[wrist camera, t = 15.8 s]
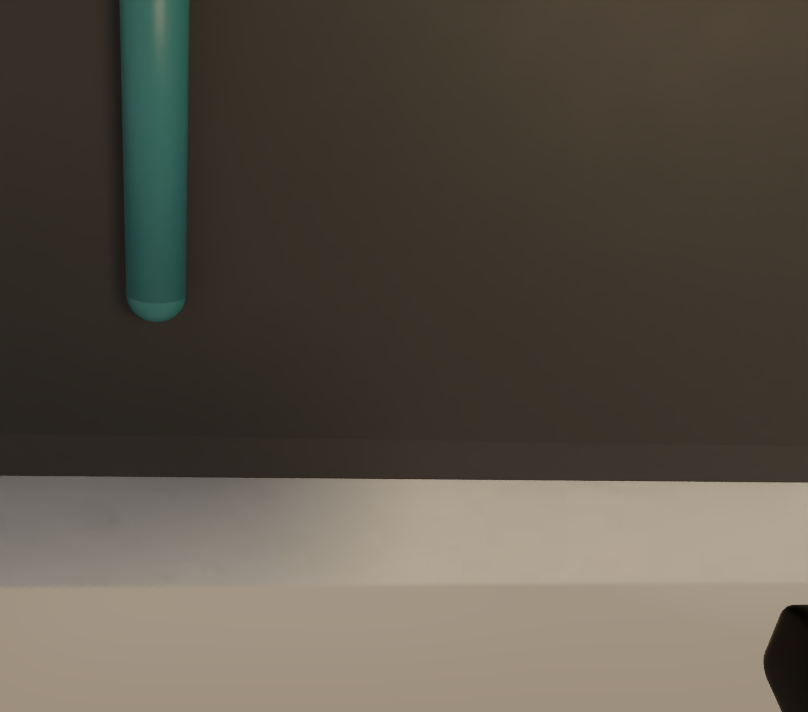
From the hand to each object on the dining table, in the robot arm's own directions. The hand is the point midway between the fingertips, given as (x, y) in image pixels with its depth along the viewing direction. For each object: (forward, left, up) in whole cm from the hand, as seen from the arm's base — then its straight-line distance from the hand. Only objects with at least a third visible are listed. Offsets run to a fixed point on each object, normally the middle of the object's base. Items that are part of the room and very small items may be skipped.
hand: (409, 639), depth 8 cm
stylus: (+1, +5, -11) cm, 12 cm away
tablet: (+2, -4, -13) cm, 14 cm away
